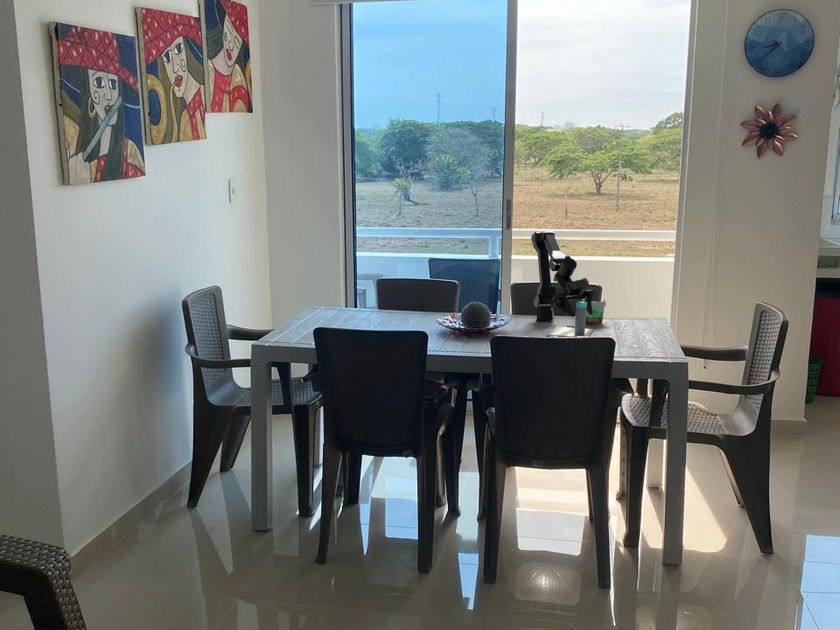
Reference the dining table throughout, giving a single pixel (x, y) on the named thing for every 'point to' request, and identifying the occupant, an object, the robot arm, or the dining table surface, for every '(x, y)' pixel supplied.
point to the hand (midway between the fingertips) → (582, 315)
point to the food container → (595, 313)
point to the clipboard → (567, 331)
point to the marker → (580, 318)
